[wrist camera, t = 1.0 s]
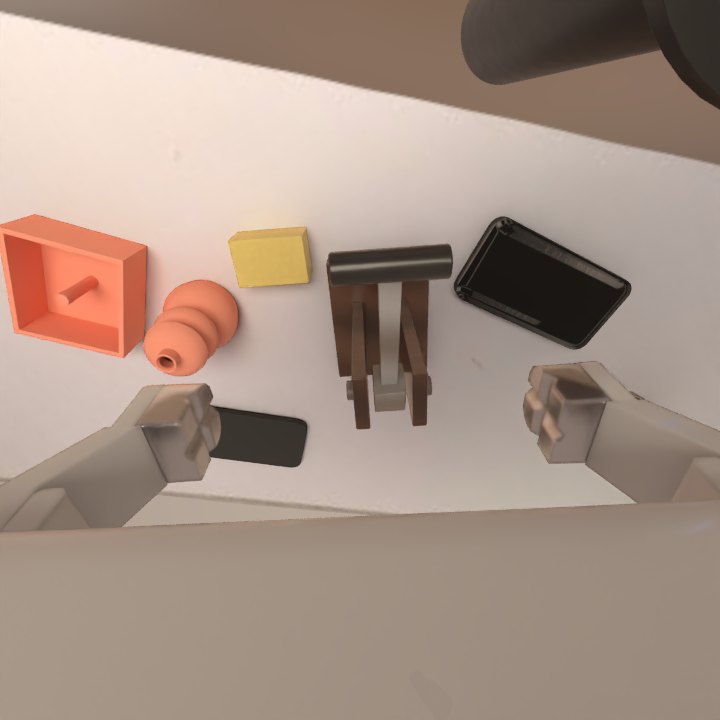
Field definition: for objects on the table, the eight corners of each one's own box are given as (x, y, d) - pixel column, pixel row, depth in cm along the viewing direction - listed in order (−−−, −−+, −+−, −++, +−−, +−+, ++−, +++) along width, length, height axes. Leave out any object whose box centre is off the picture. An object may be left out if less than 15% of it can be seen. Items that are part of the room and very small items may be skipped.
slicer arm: (328, 238, 18) (327, 276, 17) (447, 230, 18) (456, 267, 17) (351, 385, 30) (352, 413, 29) (423, 380, 30) (427, 409, 29)
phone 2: (501, 214, 32) (637, 286, 36) (497, 211, 33) (630, 281, 37) (450, 295, 36) (578, 353, 39) (448, 291, 37) (573, 348, 40)
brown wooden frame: (327, 259, 35) (313, 329, 24) (426, 252, 35) (463, 319, 23) (340, 370, 42) (334, 469, 30) (424, 364, 41) (452, 462, 30)
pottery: (46, 312, 38) (-42, 367, 29) (34, 214, 33) (-74, 247, 25) (234, 358, 41) (203, 420, 32) (248, 274, 36) (216, 321, 28)
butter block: (237, 231, 34) (227, 241, 31) (305, 226, 34) (301, 235, 31) (247, 276, 36) (239, 287, 34) (312, 271, 36) (308, 283, 33)
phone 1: (299, 469, 48) (173, 453, 46) (300, 464, 49) (176, 448, 47) (308, 424, 44) (170, 404, 43) (308, 419, 45) (173, 400, 43)
